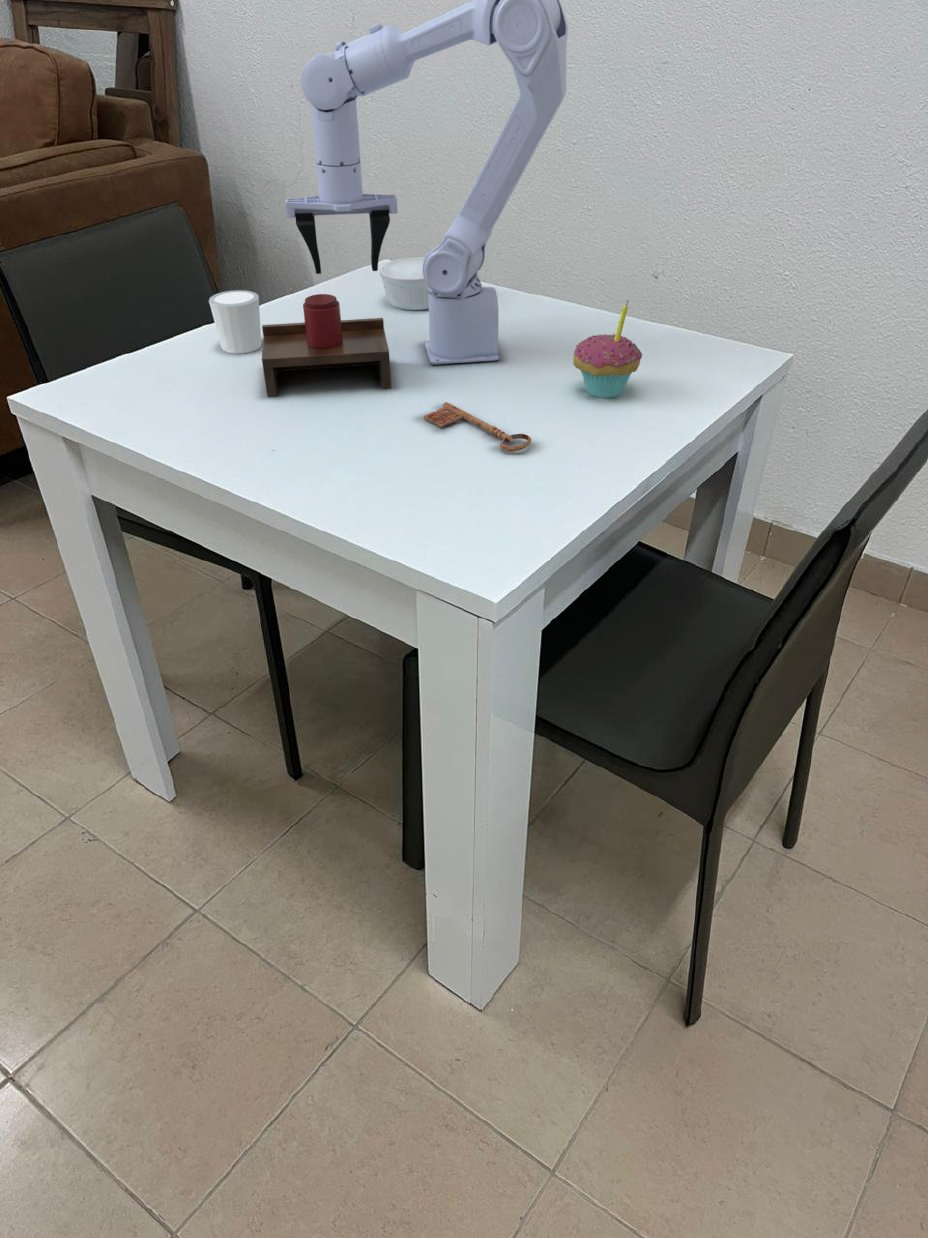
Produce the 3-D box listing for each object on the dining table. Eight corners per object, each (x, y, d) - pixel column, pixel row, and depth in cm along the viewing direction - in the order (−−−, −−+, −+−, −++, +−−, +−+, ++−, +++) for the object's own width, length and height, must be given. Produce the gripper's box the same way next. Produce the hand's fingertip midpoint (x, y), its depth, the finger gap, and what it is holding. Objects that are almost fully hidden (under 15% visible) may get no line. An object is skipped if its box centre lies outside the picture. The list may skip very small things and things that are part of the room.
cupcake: (645, 384, 121) (655, 291, 113) (626, 409, 114) (636, 313, 107) (582, 373, 123) (589, 282, 116) (560, 397, 117) (566, 303, 110)
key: (421, 419, 113) (498, 462, 104) (420, 412, 113) (498, 455, 103) (458, 402, 116) (537, 444, 106) (457, 396, 115) (537, 437, 106)
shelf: (385, 362, 127) (383, 317, 124) (391, 388, 120) (388, 341, 116) (268, 369, 125) (262, 324, 122) (267, 396, 118) (260, 349, 115)
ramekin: (374, 311, 144) (372, 276, 141) (390, 288, 152) (388, 255, 149) (444, 314, 142) (444, 279, 139) (457, 291, 151) (456, 258, 148)
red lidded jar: (342, 334, 122) (338, 292, 118) (343, 347, 118) (339, 303, 115) (307, 336, 121) (302, 294, 118) (307, 349, 118) (302, 305, 114)
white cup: (271, 338, 135) (264, 289, 131) (258, 355, 130) (250, 305, 125) (225, 336, 136) (217, 288, 131) (210, 354, 130) (201, 304, 126)
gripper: (280, 170, 114) (293, 281, 122) (397, 166, 116) (402, 276, 124) (281, 158, 120) (293, 265, 128) (392, 154, 121) (397, 260, 130)
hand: (346, 270), depth 126 cm, fingers open, 7 cm apart
